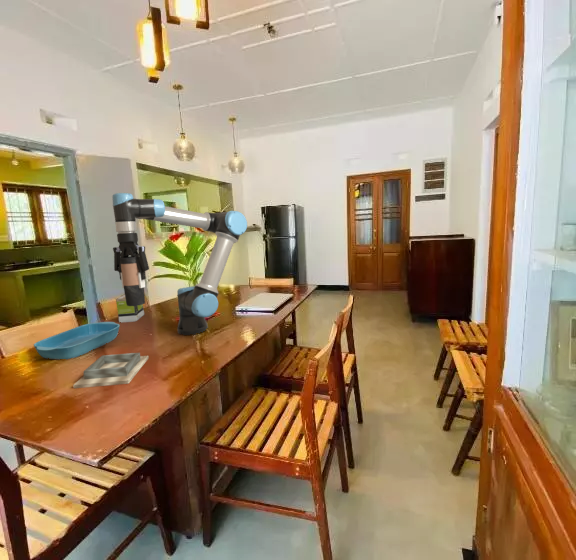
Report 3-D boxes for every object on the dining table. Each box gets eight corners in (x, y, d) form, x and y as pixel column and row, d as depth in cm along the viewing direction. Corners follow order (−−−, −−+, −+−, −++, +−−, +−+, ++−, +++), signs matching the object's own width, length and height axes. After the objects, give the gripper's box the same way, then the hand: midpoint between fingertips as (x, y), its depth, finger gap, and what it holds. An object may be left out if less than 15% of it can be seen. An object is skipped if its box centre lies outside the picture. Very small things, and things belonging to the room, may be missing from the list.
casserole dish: (65, 366, 130) (63, 349, 129) (23, 362, 136) (20, 346, 134) (130, 335, 165) (128, 322, 164) (94, 333, 171) (92, 320, 170)
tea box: (128, 315, 203) (125, 292, 201) (144, 314, 204) (142, 291, 202) (118, 322, 189) (115, 298, 186) (136, 321, 190) (133, 297, 187)
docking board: (148, 358, 134) (147, 348, 133) (128, 383, 112) (127, 372, 112) (102, 362, 132) (101, 352, 131) (73, 388, 110) (71, 376, 110)
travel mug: (149, 302, 139) (144, 255, 136) (136, 306, 132) (130, 257, 128) (135, 301, 141) (130, 256, 138) (121, 306, 134) (115, 258, 131)
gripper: (154, 231, 133) (160, 285, 137) (112, 233, 138) (119, 285, 141) (142, 231, 126) (149, 289, 129) (98, 233, 130) (106, 289, 134)
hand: (133, 287), depth 135 cm, fingers closed on travel mug, 8 cm apart
